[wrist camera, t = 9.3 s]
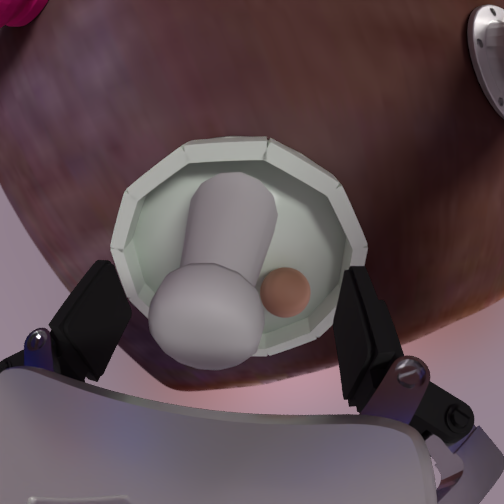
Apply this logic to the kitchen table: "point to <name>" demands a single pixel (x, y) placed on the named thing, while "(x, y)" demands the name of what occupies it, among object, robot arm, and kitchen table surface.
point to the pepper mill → (19, 11)
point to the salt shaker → (217, 276)
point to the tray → (283, 241)
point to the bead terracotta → (285, 292)
